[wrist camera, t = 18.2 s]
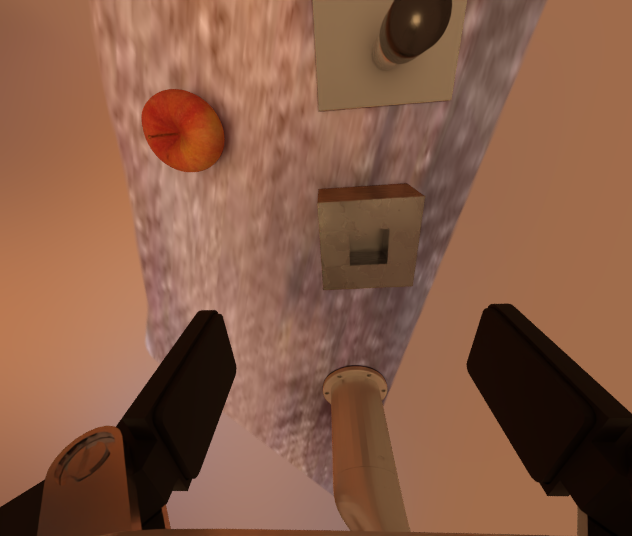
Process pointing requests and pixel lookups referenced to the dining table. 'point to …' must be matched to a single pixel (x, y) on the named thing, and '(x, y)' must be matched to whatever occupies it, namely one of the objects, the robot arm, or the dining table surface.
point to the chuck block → (369, 235)
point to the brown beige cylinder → (409, 31)
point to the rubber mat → (357, 65)
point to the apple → (183, 130)
